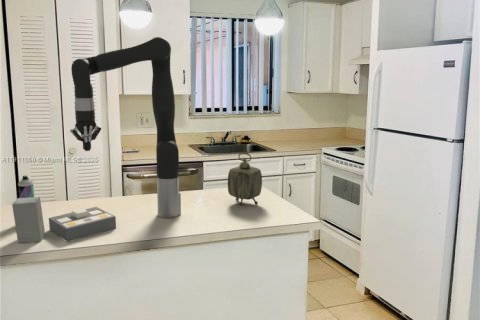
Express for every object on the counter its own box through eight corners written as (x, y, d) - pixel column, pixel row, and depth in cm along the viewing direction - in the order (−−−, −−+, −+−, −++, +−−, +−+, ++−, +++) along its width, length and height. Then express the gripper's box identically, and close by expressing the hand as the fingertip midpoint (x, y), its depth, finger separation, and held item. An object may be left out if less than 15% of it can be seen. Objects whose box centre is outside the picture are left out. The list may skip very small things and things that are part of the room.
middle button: (82, 215, 178) (82, 208, 178) (88, 218, 175) (87, 211, 175) (72, 217, 175) (71, 210, 175) (77, 220, 172) (76, 213, 172)
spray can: (25, 220, 183) (20, 174, 178) (38, 220, 183) (34, 174, 179) (19, 225, 177) (15, 177, 173) (33, 225, 178) (29, 177, 173)
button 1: (67, 224, 174) (67, 217, 174) (72, 227, 171) (72, 219, 171) (56, 226, 171) (56, 219, 170) (61, 230, 168) (60, 222, 167)
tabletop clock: (261, 204, 209) (262, 153, 203) (251, 209, 201) (252, 156, 196) (235, 199, 216) (236, 149, 211) (225, 203, 209) (226, 152, 204)
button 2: (98, 216, 183) (97, 209, 183) (103, 219, 180) (102, 212, 180) (88, 219, 180) (87, 212, 180) (93, 221, 177) (92, 214, 176)
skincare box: (45, 235, 168) (42, 195, 164) (40, 243, 161) (36, 201, 157) (21, 236, 166) (18, 196, 163) (15, 244, 160) (11, 202, 156)
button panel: (96, 217, 187) (96, 206, 186) (116, 228, 176) (115, 215, 175) (49, 229, 173) (48, 217, 172) (67, 241, 162) (66, 228, 161)
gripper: (73, 110, 171) (76, 154, 175) (104, 108, 180) (106, 150, 184) (64, 109, 176) (67, 151, 180) (95, 107, 186) (97, 147, 189)
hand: (87, 150), depth 182 cm, fingers closed
